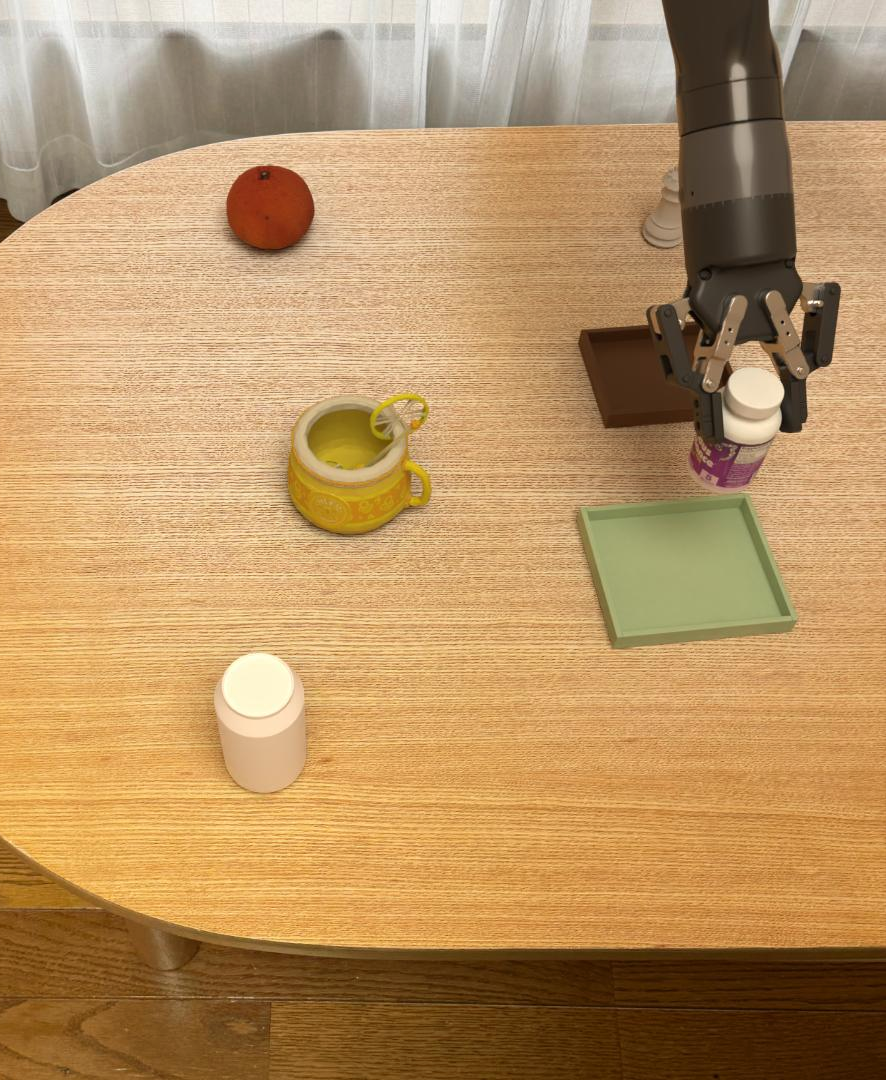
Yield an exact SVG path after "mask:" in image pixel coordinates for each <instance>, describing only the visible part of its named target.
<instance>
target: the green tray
mask: <svg viewBox="0 0 886 1080" xmlns="http://www.w3.org/2000/svg"><path fill="white" fill-rule="evenodd" d="M576 524H577V527H578V531H579V534H580V538H581V542H582V546H583V548H584V552H585V556H586V560H587V562H588V566H589V570H590V573H591V577H592V581H593V584H594V588H595V591H596V595H597V598H598V602H599V606H600V609H601V612H602V615H603V616H602V617H603V620H604V623H605V626H606V630H607V634H608V638H609V641H610V644H611V648H612V650H617V649H627V648H638V647H648V646H657V645H669V644H678V643H688V642H700V641H709V640H719V639H729V638H730V639H731V638H740V637H750V636H761V635H768V634H769V635H770V634H771V635H772V634H780V633H791V632H792V631H793V629H794V628H795V626H796V625H797V623H798V621H799V617H798V615H797V612H796V609H795V607H794V605H793V601H792V600H791V597H790V594H789V592H788V589H787V587H786V585H785V581H784V579H783V577H782V574H781V571H780V569H779V567H778V564H777V561H776V558H775V556H774V554H773V551H772V548H771V546H770V543H769V541H768V539H767V536H766V534H765V530H764V528H763V526H762V523H761V520H760V517H759V515H758V513H757V510H756V508H755V505H754V503H753V501H752V498H751V495H750V493H749V492H742V493H741V492H739V493H736V494H730V495H726V494H725V495H723V494H717V495H705V496H696V497H695V496H694V497H684V498H683V497H682V498H674V499H673V498H671V499H662V500H661V499H660V500H653V501H652V500H649V501H639V502H626V503H617V504H616V503H615V504H605V505H603V504H602V505H594V506H592V505H590V506H582V507H581V506H580V507H579V509H578V513H577V517H576Z"/></svg>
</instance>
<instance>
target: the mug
mask: <svg viewBox="0 0 886 1080" xmlns="http://www.w3.org/2000/svg"><path fill="white" fill-rule="evenodd" d="M407 400H408V401H407ZM400 401H407V402H406V403H405V405H404V406H403V408H402V409H401V411H400V412H397V410H396V408H395V405H394V403H397V402H400ZM418 402H419V403H421V404H422V405H423V408H421V409H417V410H413V411H410V409H412V408H413V406H414V405H415V404H416V403H418ZM404 410H405V411H404ZM403 411H404V412H403ZM402 412H403V413H402ZM429 412H430V411H429V405H428V403H427V401H426V398H424V397H422V396H421V395H419V394H417V393H412V392H411V393H400V394H396V395H393V396H391V397H389V398H388V399H385V400H384V401H382V402H381V401H379V400H377V399H374V398H372V397H369V396H362V395H354V394H343V395H341V394H340V395H333V396H331V397H327V398H325V399H322V400H320V401H317V402H316V403H314V404H312V405H310V406H309V407H307V408H306V409H305V410H304V411H302V412H301V414H300V415H299V416H298V418H297V420H296V421H295V424H293V427H292V430H291V435H290V450H289V455H288V462H287V470H286V479H287V481H286V483H287V489H288V493H289V498H290V499H291V502H292V503H293V505H294V507H295V509H296V510H297V511H298V512H299V513H300V514H301V515H302V516H303V517H304V519H306V520H307V521H308V522H310V523H312V524H313V525H314V526H316V527H317V528H320V529H323V530H325V531H327V532H329V533H335V534H343V535H354V534H364V533H367V532H371V531H374V530H378V529H379V528H380V527H382V526H384V525H385V524H387V523H389V522H390V521H392V520H394V519H395V517H397V515H399V514H400V513H401V512H402V510H403V509H409V508H410V506H412V507H420V506H425V505H427V504H428V503H429V502H430V500H431V496H432V493H433V487H432V483H431V482H432V481H431V478H430V477H431V476H430V475H429V473H428V472H427V470H426V469H424V468H423V467H422V466H420V465H419V464H418V463H417V462H415V461H412V460H411V459H410V451H409V440H410V439H409V436H410V435H412V434H413V433H415V432H416V431H417V430H419V429H420V428H421V427H422V426H423V425H424V424H425V422H426V421H427V419H428V417H429V414H430V413H429ZM413 414H414V415H413ZM404 415H411V416H406V417H404ZM419 417H420V418H419ZM411 418H419V419H413V420H411V422H410V425H409V424H408V423H407V422H406V421H405V419H411ZM412 473H413V474H414V475H415V476H416V477H417V478H418V479H419V480H420V482H421V485H422V492H421V495H420V496H413V492H412V491H411V490H412Z"/></svg>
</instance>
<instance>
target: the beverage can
mask: <svg viewBox="0 0 886 1080" xmlns="http://www.w3.org/2000/svg"><path fill="white" fill-rule="evenodd" d="M305 695H306V694H305V688H304V683H303V681H302V679H301V677H300V676H299V675H298V673H297V672H296V671H295V669H293V668H292V666H290V665H289V664H287V663H286V662H285V661H284V660H283V659H282V658H280V657H278V656H277V655H275V654H271V653H268V652H251V653H247V654H244V655H242V656H240V657H238V658H236V659H235V660H233V662H232V663H230V665H229V666H228V667H227V668H226V669H225V671H224V672H223V673H222V675H221V676H220V677H219V679H218V680H217V683H216V686H215V688H214V692H213V705H214V712H215V717H216V722H217V727H218V734H219V739H220V744H221V750H222V755H223V760H224V764H225V767H226V770H227V772H228V774H229V776H230V777H231V778H232V780H233V781H234V782H235V783H236V784H237V785H239V786H240V787H242V788H243V789H245V790H247V791H250V792H254V793H260V794H261V793H262V794H268V793H269V794H270V793H274V792H275V793H276V792H278V791H281V790H283V789H285V788H287V787H288V786H290V785H291V784H293V783H294V782H295V781H296V780H297V779H298V778H299V776H300V775H301V773H302V771H303V770H304V767H305V765H306V761H307V751H308V749H307V748H308V747H307V746H308V745H307V722H306V721H307V720H306V698H305V697H306V696H305Z"/></svg>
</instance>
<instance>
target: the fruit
mask: <svg viewBox="0 0 886 1080" xmlns="http://www.w3.org/2000/svg"><path fill="white" fill-rule="evenodd" d="M225 207H226V208H225V210H226V211H225V213H226V220H227V224H228V227H229V228H230V229H231V231H232V233H234V234H235V236H237V237H238V238H239V239H240V240H241V241H242V242H244V243H246V244H249V245H250V246H253V247H256V248H258V249H263V250H273V249H274V250H277V249H284V248H286V247H290V246H291V245H294V244H295V243H296V242H298V241H299V240H301V239H302V238H303V237H304V236H305V235H306V234H307V233H308V231H309V230H310V228H311V225H312V223H313V221H314V218H315V212H316V210H315V202H314V198H313V195H312V193H311V190H310V187H309V186H308V183H307V182H306V181H305V179H304V178H303V177H302V176H301V175H300V174H298V173H297V172H295V171H293V170H291V169H290V168H286V167H283V166H280V165H273V164H268V165H267V164H266V165H256V166H254V167H251V168H248V169H246V170H245V171H244V172H242V173H241V174H240V175H238V177H237V178H236V179H235V180H234V181H233V183H232V185H231V187H230V188H229V191H228V193H227V196H226V203H225Z"/></svg>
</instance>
